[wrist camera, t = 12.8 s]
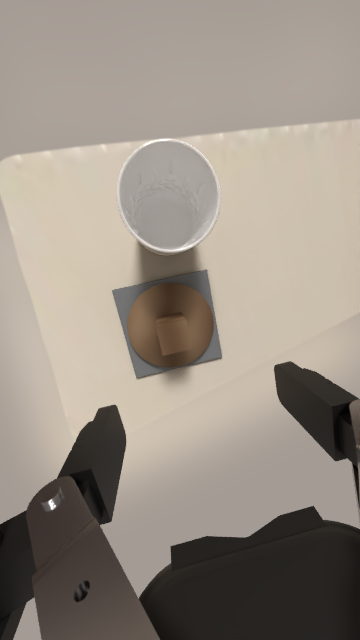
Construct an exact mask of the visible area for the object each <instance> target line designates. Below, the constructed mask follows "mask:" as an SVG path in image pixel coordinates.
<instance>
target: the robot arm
mask: <svg viewBox="0 0 360 640" xmlns="http://www.w3.org/2000/svg"><path fill="white" fill-rule="evenodd" d="M274 372H275V380H276V388H277V395H278V397H279V400H280V402H281V404H282V405H283V406H284V407H285V408H286V409H287V411H288V412H289V413H290V414H291V415H292V416H293V417H294V418H295V419H296V420H297V421H298V422H299V423H300V424H301V425H302V426H303V428H304V429H305V430H306V431H307V432H308V433H309V434H310V435H311V436H312V437H313V438H314V439H315V440H316V441H317V442H318V443H319V445H320V446H321V447H322V448H323V449H324V450H325V451H326V452H327V453H328V454H329V455H330V456H331V457H332V458H333V459H334V460H335V461H339V460H343V459H346V458H348V459H349V460H350V461H351V462H352V472H353V479H354V486H355V493H356V500H357V507H358V513H359V520H360V399H359V398H357V397H355V396H354V395H352V394H351V393H349V392H347V391H346V390H344V389H342V388H341V387H339V386H338V385H336V384H333V383H332V382H331V381H330V380H328V379H325V377H323V376H322V375H320V374H319V373H317V372H314V371H311V370H308V369H305V368H304V369H302V368H300V367H299V366H297V365H296V364H294V363H293V362H285V363H281V364H277V365H275V367H274ZM125 447H126V434H125V430H124V427H123V424H122V421H121V418H120V414H119V411H118V408H117V406H116V405H111V406H107V407H103V408H99V409H98V411H97V413H96V416H95V418H94V420H93V421H91V422H88V424H87V425H86V426H85V427H84V428H83V429H82V430H81V431H80V433H79V435H78V437H77V439H76V442H75V443H74V445H73V447H72V450H71V451H70V453H69V455H68V457H67V459H66V461H65V463H64V465H63V467H62V469H61V471H60V473H59V475H58V477H57V479H55V480H53V481H51V482H50V483H48V484H47V485H45V486H44V487H43V488H42V489H41V490H40V491H39V492H38V493H37V494H36V495H35V496H34V497H33V499H32V500H31V502H30V503H29V505H28V507H27V510H26V511H24V512H22V513H21V514H19V515H17V516H15V517H13V518H11V519H9V520H7V521H6V522H4V523H2V524H0V640H13V638H14V635H15V632H16V630H17V627H18V624H19V622H20V619H21V616H22V613H23V611H24V608H25V605H26V602H28V601H29V600H31V599H32V598H34V597H35V602H36V609H37V614H38V621H39V626H40V633H41V639H42V640H360V529H358V528H356V527H353V526H350V525H347V524H344V523H340V522H335V521H329V520H323V519H322V518H321V517H320V515H319V513H318V512H317V510H316V509H315V507H314V506H312V507H308V508H305V509H301V510H298V511H294V512H291V513H287V514H283V515H280V516H278V517H277V518H275V519H274V520H272V521H271V522H269V523H268V524H267V525H265V526H264V527H262V528H261V529H259V530H258V531H257V532H255V533H254V534H252V535H251V536H249V537H246V538H237V537H213V536H206V537H202V538H199V539H195V540H192V541H188V542H185V543H181V544H177V545H174V546H171V564H169V565H168V566H166V567H165V568H164V569H163V570H162V571H160V572H159V573H158V574H157V575H156V576H155V578H154V579H153V580H152V581H151V582H150V583H149V584H148V586H147V587H146V588H145V590H144V591H143V592H142V594H141V596H140V597H139V599H138V597H137V595H136V593H135V591H134V589H133V587H132V585H131V583H130V582H129V580H128V578H127V576H126V574H125V572H124V571H123V568H122V566H121V565H120V563H119V561H118V559H117V557H116V555H115V553H114V551H113V549H112V548H111V546H110V544H109V542H108V540H107V538H106V536H105V534H104V533H103V530H102V529H101V527H100V525H101V524H105V523H109V522H111V521H112V516H113V511H114V506H115V500H116V495H117V490H118V484H119V479H120V474H121V469H122V463H123V459H124V452H125Z"/></svg>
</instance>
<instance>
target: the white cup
mask: <svg viewBox="0 0 360 640" xmlns="http://www.w3.org/2000/svg"><path fill="white" fill-rule="evenodd" d="M220 203H221V193H220V186H219V182H218V178H217V176H216V173H215V171H214V169H213V167H212V165H211V164H210V162H209V161H208V160H207V158H206V157H205V156H204V155H203V154H202V153H201V152H200V151H199V150H197V149H196V148H195V147H193V146H191V145H190V144H188V143H185V142H183V141H179V140H175V139H158V140H153V141H150V142H148V143H146V144H144V145H142V146H140V147H139V148H138V149H136V150H135V151H134V152H133V153H132V154H131V155H130V156H129V158H128V159H127V160H126V162H125V163H124V165H123V167H122V169H121V172H120V175H119V178H118V183H117V204H118V209H119V212H120V215H121V218H122V220H123V222H124V224H125V226H126V227H127V229H128V230H129V232H130V233H131V234H132V235H133V236H134V237H135V238H136V239H137V240H138V241H139V242H140V243H141V244H142V245H143V246H144V247H145V248H147V249H148V250H149V251H151V252H153V253H155V254H159V255H164V256H170V255H175V254H179V253H182V252H184V251H186V250H189V249H191V248H193V247H195V246H196V245H198V244H199V243H200V242H202V241H203V240H204V239H205V238H206V237H207V236H208V234H209V233H210V232H211V230H212V229H213V227H214V225H215V223H216V221H217V218H218V215H219V210H220Z"/></svg>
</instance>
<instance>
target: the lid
mask: <svg viewBox="0 0 360 640" xmlns="http://www.w3.org/2000/svg"><path fill="white" fill-rule="evenodd" d="M213 330H214V319H213V314H212V311H211V308H210V306H209V304H208V303H207V301H206V300H205V298H204V297H203V296H202V295H201V294H200V293H198V292H197V291H196V290H194V289H192V288H191V287H188V286H186V285H183V284H179V283H163V284H159V285H156V286H153V287H151V288H149V289H148V290H146V291H145V292H143V293H142V294H141V295H140V296H139V297H138V298H137V300H136V301H135V302H134V304H133V306H132V307H131V310H130V312H129V315H128V320H127V331H128V336H129V339H130V342H131V344H132V346H133V348H134V349H135V351H136V352H137V353H138V354H139V355H140V356H141V357H142V358H143V359H145V360H146V361H148V362H149V363H152V364H154V365H157V366H161V367H169V368H170V367H179V366H183V365H186V364H188V363H190V362H192V361H194V360H195V359H197V358H198V357H199V356H200V355H201V354H202V353H203V352H204V351H205V350H206V348H207V347H208V345H209V343H210V341H211V338H212V335H213Z"/></svg>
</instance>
